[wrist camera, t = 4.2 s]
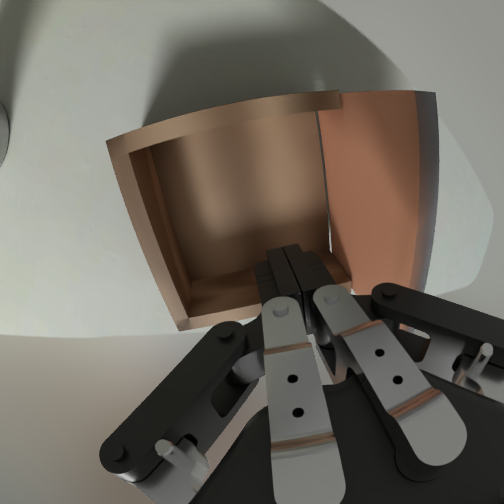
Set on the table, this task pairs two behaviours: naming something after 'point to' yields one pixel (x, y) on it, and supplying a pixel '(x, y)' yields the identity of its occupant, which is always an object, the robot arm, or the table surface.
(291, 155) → the box
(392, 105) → the panel
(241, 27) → the table surface
